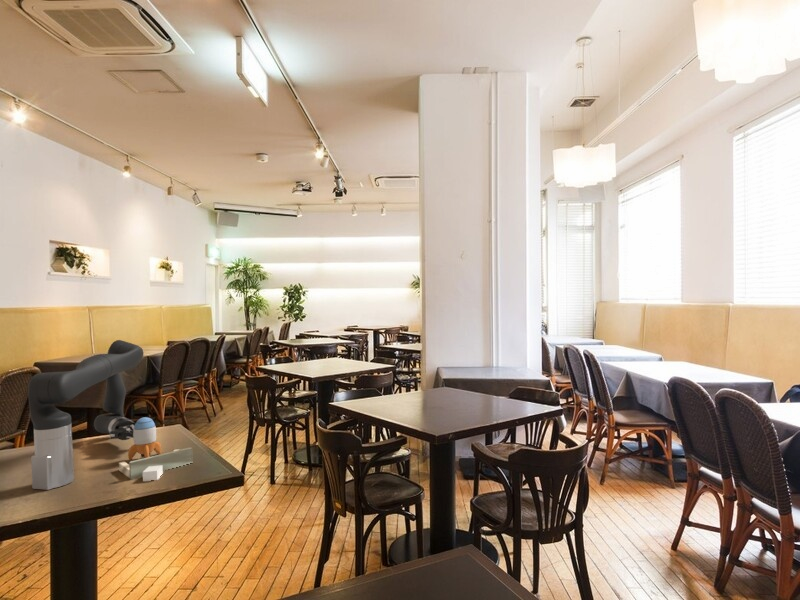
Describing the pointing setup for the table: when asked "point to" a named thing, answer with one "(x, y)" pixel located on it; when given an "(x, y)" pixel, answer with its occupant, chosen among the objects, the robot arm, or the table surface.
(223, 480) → the table surface
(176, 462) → the cradle
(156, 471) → the fin block
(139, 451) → the toy rocket
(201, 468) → the table surface
